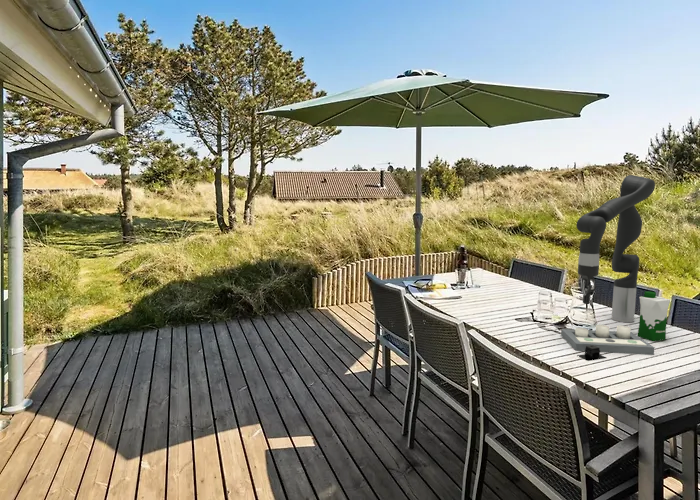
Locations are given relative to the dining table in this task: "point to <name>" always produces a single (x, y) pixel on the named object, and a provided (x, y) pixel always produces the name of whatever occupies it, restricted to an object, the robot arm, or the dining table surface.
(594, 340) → the strip
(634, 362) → the dining table surface
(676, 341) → the dining table surface
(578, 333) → the button
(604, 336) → the button
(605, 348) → the button board
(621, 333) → the button
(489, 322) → the dining table surface
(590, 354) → the black boxy piece
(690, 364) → the dining table surface
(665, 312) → the milk carton
